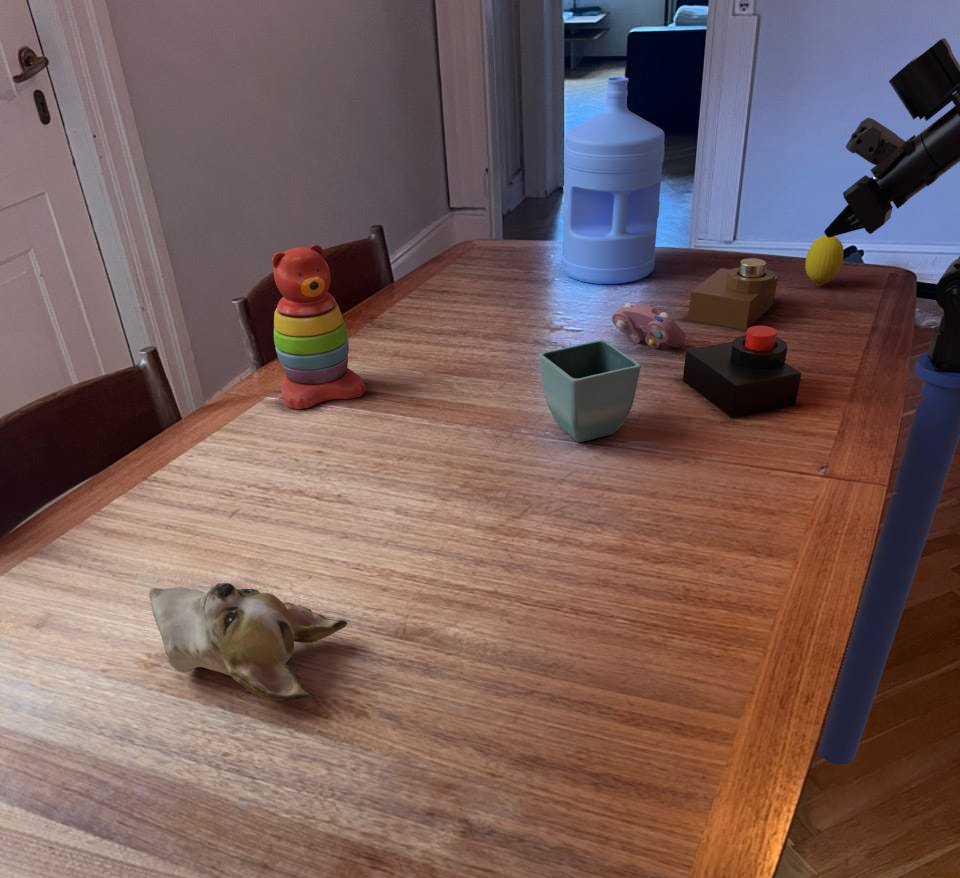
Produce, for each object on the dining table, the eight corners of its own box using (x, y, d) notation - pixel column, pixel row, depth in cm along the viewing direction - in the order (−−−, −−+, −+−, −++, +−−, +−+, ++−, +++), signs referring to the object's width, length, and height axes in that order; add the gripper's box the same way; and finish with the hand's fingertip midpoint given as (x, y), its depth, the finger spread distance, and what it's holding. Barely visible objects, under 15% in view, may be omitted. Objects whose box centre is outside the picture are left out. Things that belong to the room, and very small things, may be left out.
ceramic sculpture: (176, 536, 77) (345, 563, 75) (194, 616, 83) (352, 643, 80) (110, 613, 69) (297, 645, 67) (135, 695, 75) (308, 728, 73)
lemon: (808, 278, 149) (818, 226, 144) (842, 284, 146) (853, 231, 141) (795, 288, 145) (805, 235, 140) (830, 294, 143) (841, 240, 138)
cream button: (767, 274, 134) (769, 260, 133) (758, 281, 132) (761, 267, 131) (743, 271, 136) (745, 256, 134) (734, 278, 133) (736, 263, 132)
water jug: (553, 259, 161) (557, 74, 143) (641, 254, 162) (655, 68, 144) (570, 288, 149) (576, 89, 131) (664, 282, 150) (683, 84, 132)
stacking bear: (289, 412, 116) (264, 267, 105) (270, 383, 123) (244, 245, 112) (370, 395, 119) (354, 253, 108) (346, 368, 126) (329, 232, 115)
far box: (779, 305, 140) (786, 265, 136) (752, 331, 132) (759, 289, 128) (717, 295, 144) (722, 256, 140) (687, 320, 136) (692, 278, 133)
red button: (763, 339, 115) (766, 323, 114) (780, 350, 112) (783, 333, 111) (738, 344, 114) (741, 328, 113) (754, 354, 111) (757, 338, 110)
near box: (748, 368, 122) (755, 323, 118) (802, 404, 113) (811, 357, 109) (682, 380, 120) (687, 335, 116) (731, 418, 111) (738, 370, 107)
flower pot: (570, 454, 105) (573, 380, 99) (536, 424, 111) (537, 352, 105) (637, 438, 107) (643, 364, 102) (600, 409, 114) (603, 338, 108)
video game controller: (614, 348, 133) (603, 310, 127) (632, 325, 134) (622, 288, 128) (672, 364, 127) (663, 327, 122) (690, 341, 128) (682, 303, 123)
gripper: (915, 84, 118) (813, 169, 130) (879, 109, 106) (770, 200, 118) (962, 157, 120) (857, 235, 132) (931, 189, 108) (818, 272, 120)
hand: (826, 234), depth 125 cm, fingers closed
